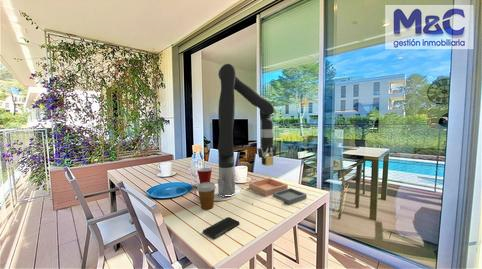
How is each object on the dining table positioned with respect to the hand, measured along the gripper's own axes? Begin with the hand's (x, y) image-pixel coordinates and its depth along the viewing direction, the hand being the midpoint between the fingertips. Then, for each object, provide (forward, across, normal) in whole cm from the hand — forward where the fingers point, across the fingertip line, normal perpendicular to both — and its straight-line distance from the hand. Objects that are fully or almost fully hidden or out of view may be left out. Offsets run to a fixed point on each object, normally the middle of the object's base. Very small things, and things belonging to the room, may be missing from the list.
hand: (267, 163), depth 126 cm
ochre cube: (+1, 0, 0) cm, 1 cm away
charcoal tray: (+17, -2, +17) cm, 24 cm away
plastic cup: (+17, +29, -31) cm, 46 cm away
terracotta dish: (+17, 0, 0) cm, 17 cm away
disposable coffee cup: (+17, +41, 0) cm, 44 cm away
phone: (+18, +44, +22) cm, 52 cm away
